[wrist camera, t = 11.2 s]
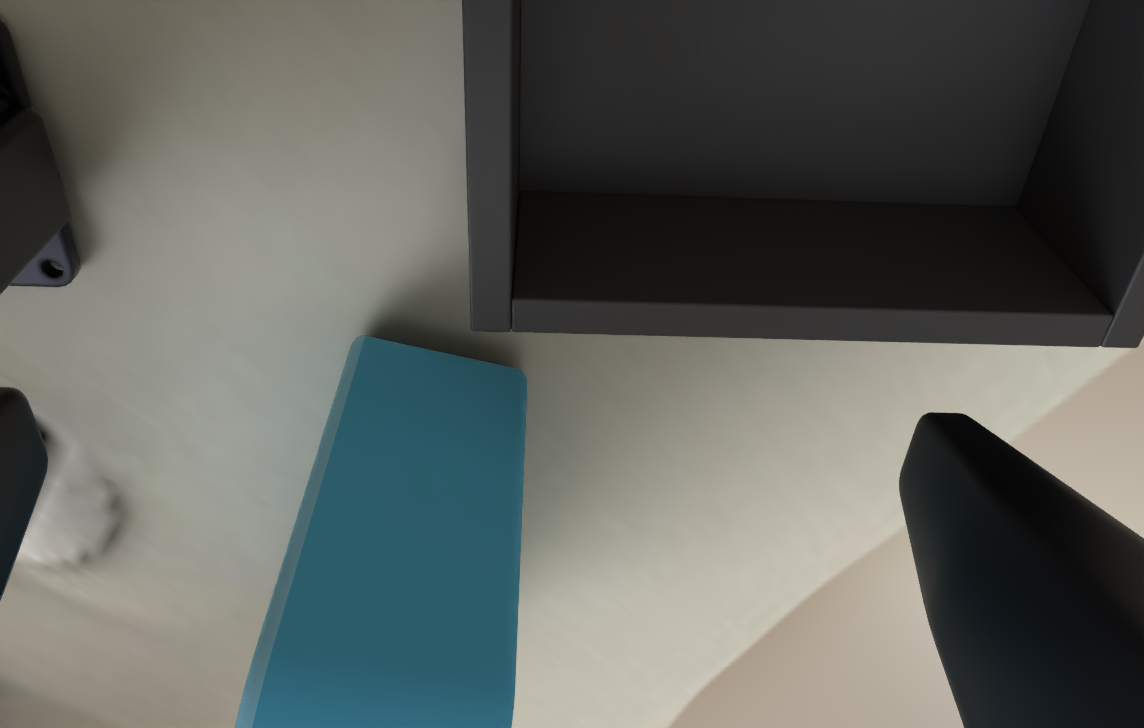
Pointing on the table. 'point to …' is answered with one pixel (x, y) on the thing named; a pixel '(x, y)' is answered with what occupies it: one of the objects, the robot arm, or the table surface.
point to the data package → (401, 553)
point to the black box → (808, 169)
